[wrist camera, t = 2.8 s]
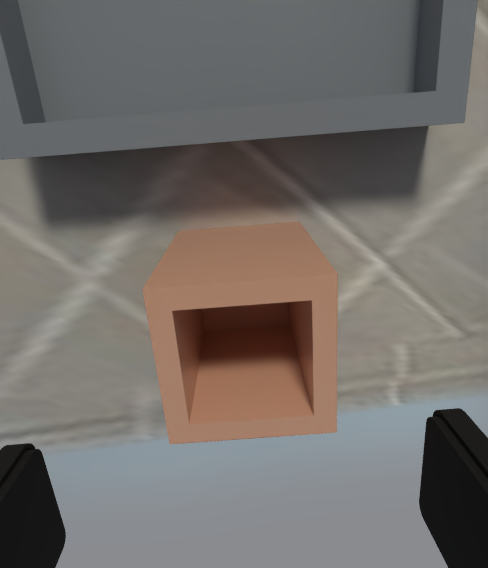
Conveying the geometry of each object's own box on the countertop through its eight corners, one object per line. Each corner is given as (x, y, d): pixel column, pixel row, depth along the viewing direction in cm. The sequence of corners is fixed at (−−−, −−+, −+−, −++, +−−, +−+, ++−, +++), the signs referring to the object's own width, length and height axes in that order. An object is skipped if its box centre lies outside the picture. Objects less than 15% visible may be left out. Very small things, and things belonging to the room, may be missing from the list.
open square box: (299, 221, 20) (337, 274, 12) (302, 330, 22) (336, 432, 14) (178, 231, 20) (142, 288, 12) (192, 338, 22) (169, 444, 14)
